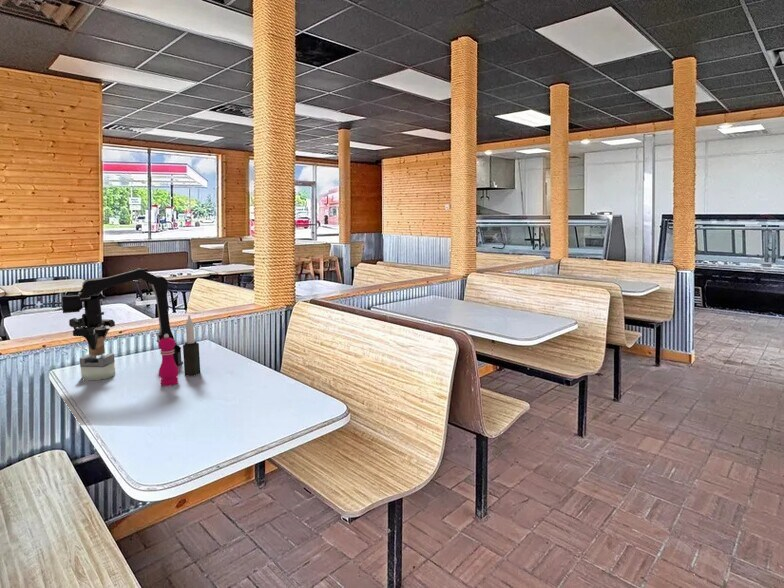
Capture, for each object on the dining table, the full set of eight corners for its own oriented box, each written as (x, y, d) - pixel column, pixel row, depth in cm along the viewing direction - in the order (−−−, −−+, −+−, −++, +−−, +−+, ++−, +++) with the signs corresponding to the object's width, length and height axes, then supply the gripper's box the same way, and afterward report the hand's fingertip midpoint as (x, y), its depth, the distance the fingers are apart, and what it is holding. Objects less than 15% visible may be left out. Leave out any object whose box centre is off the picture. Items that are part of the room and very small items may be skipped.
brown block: (104, 352, 207) (103, 336, 206) (98, 355, 203) (97, 338, 202) (95, 352, 207) (93, 336, 206) (89, 355, 203) (87, 338, 202)
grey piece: (121, 371, 212) (120, 360, 211) (104, 381, 200) (103, 369, 200) (93, 371, 213) (92, 359, 212) (74, 380, 201) (73, 368, 200)
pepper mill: (174, 386, 195) (171, 336, 192) (156, 386, 195) (152, 335, 192) (182, 380, 202) (179, 331, 199) (164, 380, 202) (161, 331, 199)
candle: (194, 376, 207) (191, 316, 203) (183, 375, 208) (179, 316, 204) (201, 372, 212) (198, 314, 208) (190, 371, 213) (187, 313, 209)
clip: (114, 361, 209) (114, 353, 209) (103, 367, 202) (102, 358, 201) (92, 361, 210) (91, 353, 209) (80, 366, 202) (79, 358, 202)
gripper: (88, 306, 212) (91, 342, 214) (57, 315, 193) (61, 354, 196) (114, 306, 211) (117, 342, 214) (85, 315, 193) (89, 354, 195)
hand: (96, 348), depth 205 cm, fingers closed on brown block, 4 cm apart
